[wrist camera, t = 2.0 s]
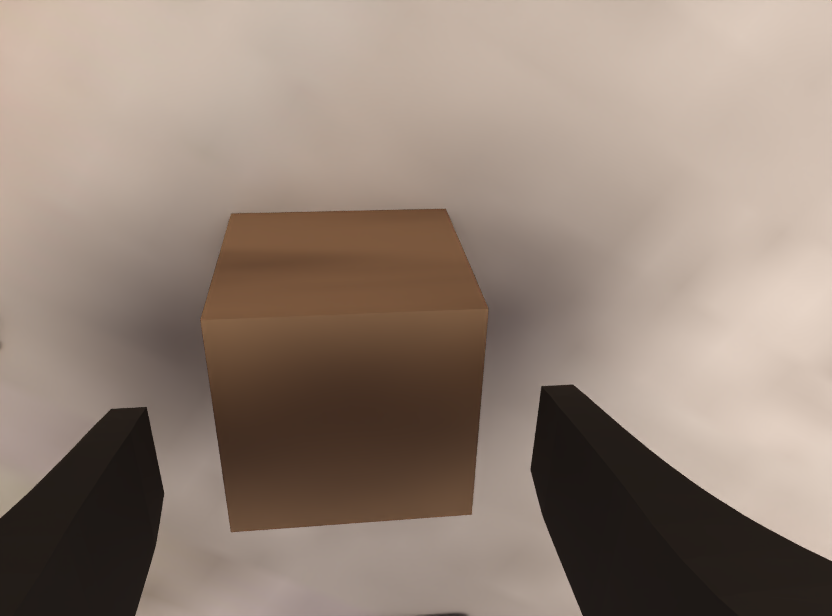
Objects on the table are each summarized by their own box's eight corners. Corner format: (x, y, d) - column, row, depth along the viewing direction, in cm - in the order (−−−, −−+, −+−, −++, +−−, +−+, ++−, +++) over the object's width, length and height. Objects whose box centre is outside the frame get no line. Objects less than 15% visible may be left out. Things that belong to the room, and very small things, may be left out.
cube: (437, 380, 19) (471, 514, 15) (250, 389, 19) (230, 532, 15) (444, 207, 17) (488, 308, 13) (231, 212, 16) (200, 320, 12)
